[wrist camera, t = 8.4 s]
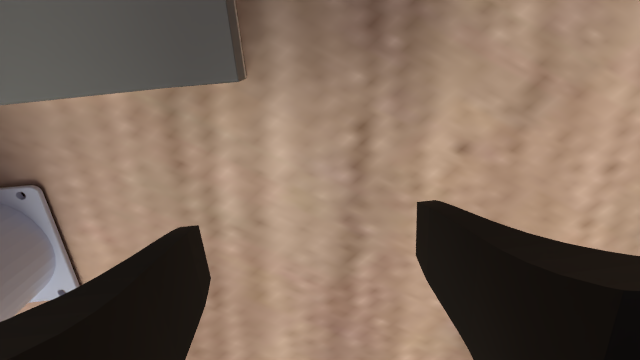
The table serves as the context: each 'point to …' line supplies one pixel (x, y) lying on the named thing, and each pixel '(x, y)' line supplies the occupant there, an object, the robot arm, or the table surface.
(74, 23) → the grill press
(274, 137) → the table surface
